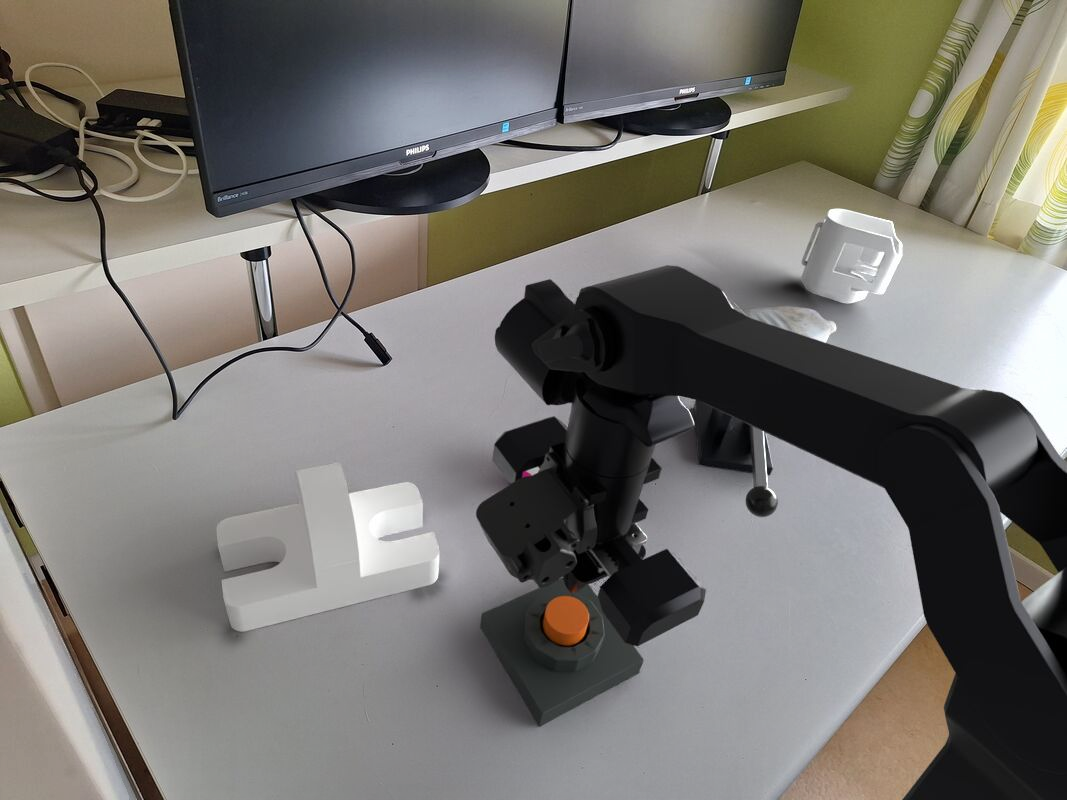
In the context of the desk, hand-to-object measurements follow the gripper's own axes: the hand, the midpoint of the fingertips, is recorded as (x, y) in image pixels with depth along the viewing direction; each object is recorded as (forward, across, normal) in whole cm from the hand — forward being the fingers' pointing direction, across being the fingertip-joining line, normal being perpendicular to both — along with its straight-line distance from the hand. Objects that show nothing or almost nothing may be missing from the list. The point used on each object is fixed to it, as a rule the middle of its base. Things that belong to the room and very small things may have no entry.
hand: (573, 588), depth 59 cm
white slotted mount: (+9, -17, -14) cm, 24 cm away
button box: (+9, 0, 0) cm, 9 cm away
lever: (+3, -8, +28) cm, 29 cm away
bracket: (+9, -14, +32) cm, 36 cm away
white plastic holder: (+9, -31, +71) cm, 78 cm away
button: (+5, 0, 0) cm, 5 cm away
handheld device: (+9, -26, +51) cm, 58 cm away
